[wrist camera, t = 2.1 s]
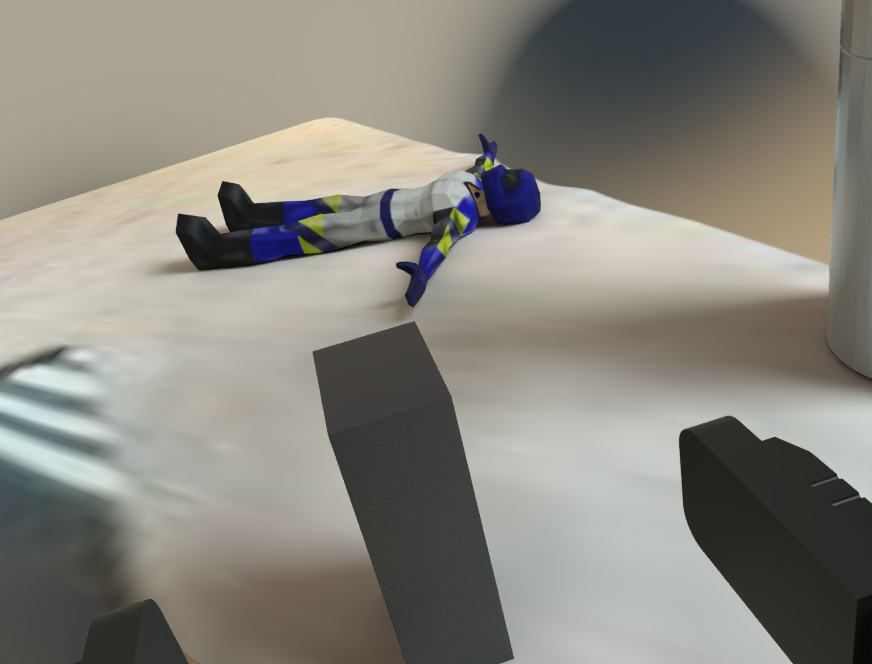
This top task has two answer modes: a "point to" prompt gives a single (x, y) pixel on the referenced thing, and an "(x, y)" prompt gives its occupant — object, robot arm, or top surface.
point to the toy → (364, 219)
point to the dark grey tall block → (413, 496)
